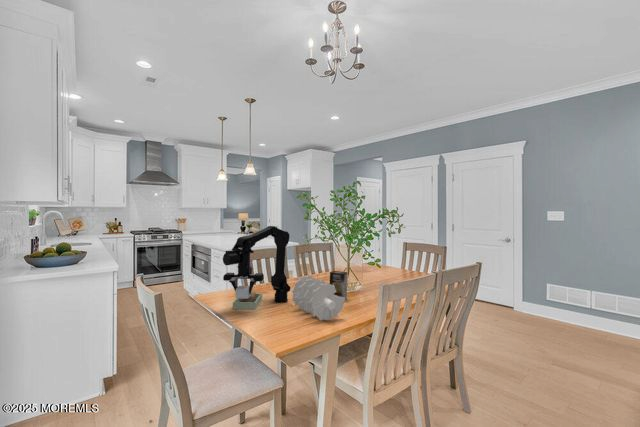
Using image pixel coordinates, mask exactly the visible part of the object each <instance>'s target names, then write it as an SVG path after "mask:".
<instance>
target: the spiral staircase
mask: <svg viewBox="0 0 640 427" xmlns="http://www.w3.org/2000/svg"><path fill="white" fill-rule="evenodd" d="M335 292H336V289H335V286H334V285H331V284H330V282H328V281H327V282H326V281H324V280H323V279H320V278H319V279H316V278H315V277H314V276H313V277H312V276H310V275H309V274H307V275H306V276H300V278H299V280H297V281H295V282H294V287H293V288H292V290H291V293H292V302H294V306H297V307H298V308H299V309H301V311H303V310H304V311H305V312H306V313H308V314H310V315H311V316H312V317H316V318H317V319H319V321H331V320H332V319H333V318H336V317H338V315H339V314H340V312H341V311H342V310H343V308H344V304H345V302H346V300H345V298H344V297H338V296H337V295H334V293H335Z"/></svg>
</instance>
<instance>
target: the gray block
mask: <svg viewBox="0 0 640 427" xmlns="http://www.w3.org/2000/svg"><path fill="white" fill-rule="evenodd" d="M249 287H250V285H238V287H237V288H236V292H235V299H237V298H243V299H248V298H249V297H250V296H251V294H250V295H249Z"/></svg>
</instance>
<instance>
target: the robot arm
mask: <svg viewBox="0 0 640 427" xmlns="http://www.w3.org/2000/svg"><path fill="white" fill-rule="evenodd" d="M270 236H271V237H272V238H273V240H274V244H275V246H276V254H275V255H276V256H275V269H274V270H275V272H274V274H273V275H271V277H270V284H271V287H272V289H273V291H275V293H274V302H275V303H280V304H281V303H282V304H283V303H287V304H288V301H289V299H288V293H289V292H290V291H291V286H290V285H289V284H288V280H287V276H286V273H285V265H286V263H285V262H286V247H287V246H288V245H289V243H290V242H289V241H290V233H289V232H288V231H285V230H282V229H280V228H278V227H276V226H275V225H274V226H273V225H268V226H266V227H265V228H262V229H261V230H258V231H257V232H254V233H253V234H250V235H243V236H239V237H238V238H237V239H236V242H235V244H234V245H233V247H232V248H231V250H225V253H224V254H223V256H222V262H223V265H224V266H232V265H237V274H236V273H235V272H226V273H225V274H224V275H223V278H222V280H223V281H228V283H231V286H232V287H233V290H234V291H235V293H236V288H237V287H238V286H239V285H238V283H239V282H238V280H239V279H243V280H250V281H249V286H250V287H249V295H250V294H251V291H253V289H254V285H255V284H256V283H257V282H262V281H263V280H264V278H265V274H264V273H263V272H262V273H261V272H258V273H257V272H255V273H254V274H253V267H252V266H251V254H254V253H255V251H254V250H252V248H253V247H254V246H255V245H256V244H257V242H259V241H262V240H264V239H265V238H267V237H270Z"/></svg>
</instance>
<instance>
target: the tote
mask: <svg viewBox="0 0 640 427" xmlns="http://www.w3.org/2000/svg"><path fill="white" fill-rule="evenodd" d="M255 293H256V301H255V302H239V298H235V300H233V302H232V310H251V311H254V310H257V308H258V307H259V305H260V303H261V302H262V300H263V293H262V292H261V293H260V292H258V293H257V292H255Z"/></svg>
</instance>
